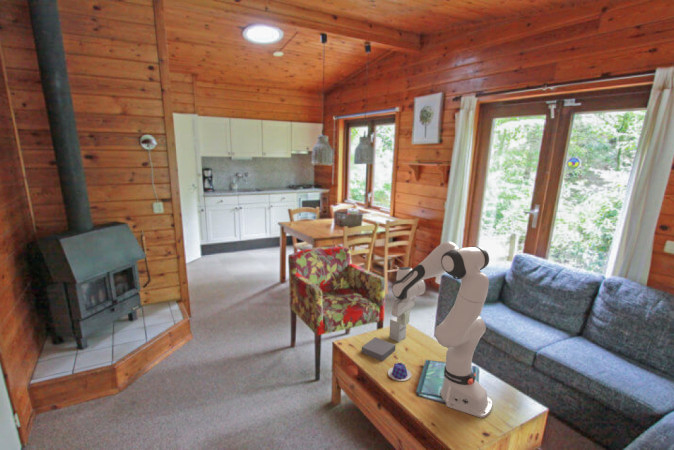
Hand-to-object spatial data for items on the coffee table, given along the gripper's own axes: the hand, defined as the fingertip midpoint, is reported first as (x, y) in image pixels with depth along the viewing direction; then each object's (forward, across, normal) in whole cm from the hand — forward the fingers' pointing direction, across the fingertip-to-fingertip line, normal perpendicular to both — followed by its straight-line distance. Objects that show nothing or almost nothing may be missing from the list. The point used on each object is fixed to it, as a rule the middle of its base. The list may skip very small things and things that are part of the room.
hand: (403, 318), depth 193 cm
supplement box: (+22, +13, +10) cm, 27 cm away
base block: (+22, -7, +11) cm, 26 cm away
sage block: (+3, 0, 0) cm, 3 cm away
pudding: (+22, -18, -9) cm, 30 cm away
